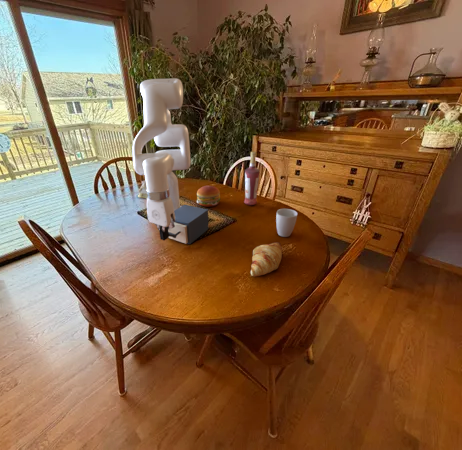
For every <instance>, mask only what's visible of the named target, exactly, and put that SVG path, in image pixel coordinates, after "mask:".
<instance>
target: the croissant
mask: <svg viewBox="0 0 462 450" xmlns="http://www.w3.org/2000/svg"><path fill="white" fill-rule="evenodd" d="M282 258H283V247H282V245H281V242H279V241H276V242H272V243H268V244H260V245H258V246H256V247H255V248H254V249H253V250H252V257H251V260H252V262H251V265H250V266H251V269H250V276H251V277H259V276H264V275H266V274H269V273H271V272H273V271H276V270H278V268H279V266H280V264H281V260H282Z"/></svg>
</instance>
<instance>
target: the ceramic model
mask: <svg viewBox="0 0 462 450" xmlns="http://www.w3.org/2000/svg"><path fill="white" fill-rule="evenodd" d="M138 192H139V194H138V195H137V198H139V199H147V197H148V193H147V186H146V180H144V181H143V183H142V185H141V186H140V188H139V189H138Z"/></svg>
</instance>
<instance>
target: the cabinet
mask: <svg viewBox="0 0 462 450" xmlns="http://www.w3.org/2000/svg"><path fill="white" fill-rule="evenodd" d="M180 206H181V207H180V208H178V209H176V210H175V211H174V213H175V222H178V223H182V224H186V225H187V231H188V243H187V244H188V245H191V244H192V243H194V242H195V241H196V240H197V239H198V238H200V237H201V236H202V235H204V234H205V233H206V232H207V231H208V230H209V229H210V228H209V227H210V226H209V210H208V209H207V208H203V207H198V206H193V205H189V204H183V205H180Z"/></svg>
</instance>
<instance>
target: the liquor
mask: <svg viewBox="0 0 462 450" xmlns="http://www.w3.org/2000/svg"><path fill="white" fill-rule="evenodd" d="M256 157H257V151H250V160H249V161H250V162H249V167H247V168H245V170H244V201H243V203H244V204H245V205H247V206H249V207H252V206H255V205H256V204H257V203H258V201H257V196H258V187H259V186H258V185H259V180H260V169H259V168H258V167H256Z"/></svg>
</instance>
